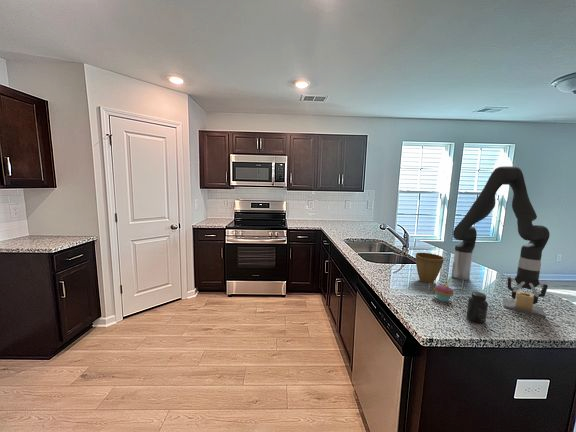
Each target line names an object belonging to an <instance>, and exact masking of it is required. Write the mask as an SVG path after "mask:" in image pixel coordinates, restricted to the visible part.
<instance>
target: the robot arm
mask: <svg viewBox="0 0 576 432" xmlns="http://www.w3.org/2000/svg"><path fill="white" fill-rule="evenodd" d="M503 185H506V186H507V185H508V186H510V188H511V190H512V191H513V196H512V201H511V208H512V211H513V213H514V216H515V217H516V223H517V231H518V232H517V233H518V235H519V237H520V238H522V239H523V240H525V241H528V243H526V244H523V245H522V246H521V249H520V255H519V259H518V263H517V269H516V270H517V271H516V276H515V277H511V276H507V290H508V291H511V299H512V300H513V301H515V299H516V292H517V291H518V290H520V289H527V290H532V292H533V298H534V300H533V305H536V304H538V302H539V298H540V297H542V298H544V297H545V296H546V293H547V290H548V284H547V283H543V282H540V281H539V280H540V273H541V266H542V255H543V251H544V249H545V247H546V246H547V244H548V242H549V239H550V230H549V229H548V227H546V226H544V225H542V224H541V225H540V224H539V225H537V224H536V225H535V224H533V221H536V220H537V217H538V216H537V213H536V210H535V209H534V207H533V205H532V203H531V200H530V197H529V193H528V189H527V185H526V181H525V177H524V174H523V171H522V169H521V168H519V167H518V166H510V165H509V166H508V165H507V166H505V165H503V166H498V167H497V168H495V169H494V170H492V172H491V174H490V176H489V178H488V180H487V182H486V183H485V185H484V187H483V189H482V190H481V192H480V194H479V195H478V196H477V198H476V200H475V201H474V202H473V204H471V206H470V208H469V210H467V212H466V214H465V216H463V218H462V219H461V220H460V222H459V223H458V224H457V225H456V226H455V228H454V229H453V232H452V236H453V239H455V240H456V241H461V243H459V244H455V246H454V254H453V261H452V267H451V268H452V269H451V277H452V278H456V279H458V280H465V281H467V280H470V278H471V268H472V260H473V253H474V249H475V246H476V241H477V234H478V233H477V229H476V228H475V227H474V225H475V224H477V223H479V222H480V221H482V220H484V219H486V218H487V217H488V216H489V215H490V214H491V212H492V211H493V210H494V208H495V207H496V194H497V192H498V191H499V189H500V188H501V187H502V186H503ZM513 282H516V284H515V285H514V286H513V287H512V283H513ZM538 286H540V289H541V290H540V292H538V291H537V289H536V288H537V287H538Z"/></svg>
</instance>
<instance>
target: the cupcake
mask: <svg viewBox="0 0 576 432" xmlns="http://www.w3.org/2000/svg"><path fill="white" fill-rule="evenodd" d="M450 279H451V277H449V278H448V279H447V282H446V285H445V284H441V285H440V284H439V285H436V286H434V288H433V291H434V292H435V294H436V298H437V299H438V300H439V301H441V302H449V300H450V299H451V297H452V296H454V293H455V292H454V290H453V288H451V287H449V284H450Z"/></svg>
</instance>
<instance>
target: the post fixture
mask: <svg viewBox="0 0 576 432" xmlns="http://www.w3.org/2000/svg"><path fill="white" fill-rule="evenodd" d="M502 300H503V301H502V302H503V308H505V309H508V310H513V311H517V312H521V313H525V314H529V315H533V316H537V317H541V318H546V317H547V314H546V312H545V310H544V309H543V307H542V306H539V305H535V304H533V306H532V310H528V309H523V308H519V307H516V305H515V300H513V299H512V300H511V299H508V298H507V299H506V298H503V299H502Z"/></svg>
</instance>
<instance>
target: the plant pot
mask: <svg viewBox="0 0 576 432" xmlns="http://www.w3.org/2000/svg"><path fill="white" fill-rule="evenodd" d="M444 260H445V257H444V256H441V255H439V254H435V253H430V252H416V253H415V264H416V271H417V275H418V279H419V281H420V282H421V283H424V284H428V285H431V284H434V283H435V281H436V280H437V277H438V276H439V273H440V272H441V270H442V268H443V264H444Z"/></svg>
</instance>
